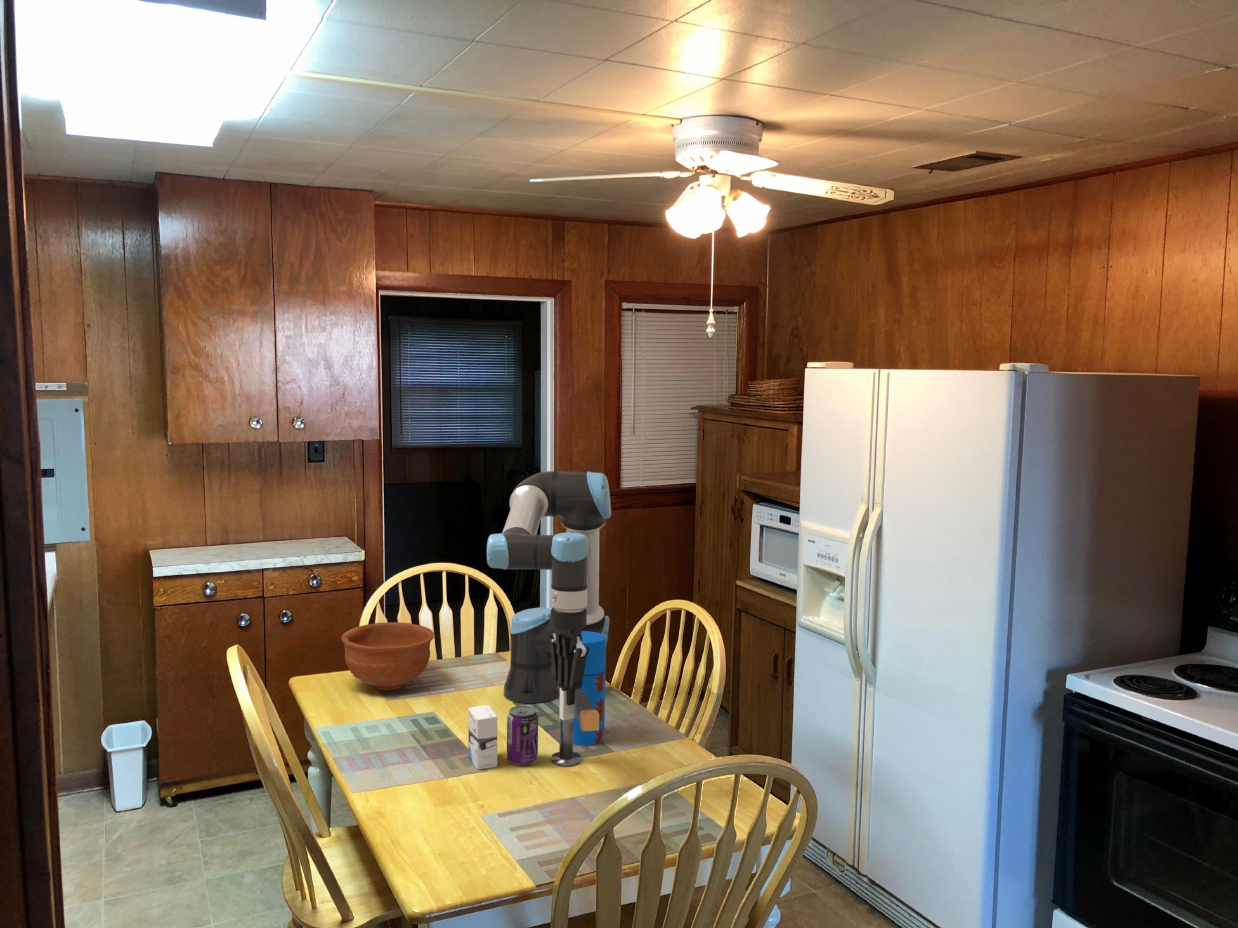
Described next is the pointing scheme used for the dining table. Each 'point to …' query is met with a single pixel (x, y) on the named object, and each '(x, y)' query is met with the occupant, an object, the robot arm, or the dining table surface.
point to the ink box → (482, 736)
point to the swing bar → (585, 711)
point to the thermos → (593, 686)
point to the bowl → (387, 653)
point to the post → (566, 746)
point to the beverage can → (522, 735)
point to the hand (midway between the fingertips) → (566, 717)
